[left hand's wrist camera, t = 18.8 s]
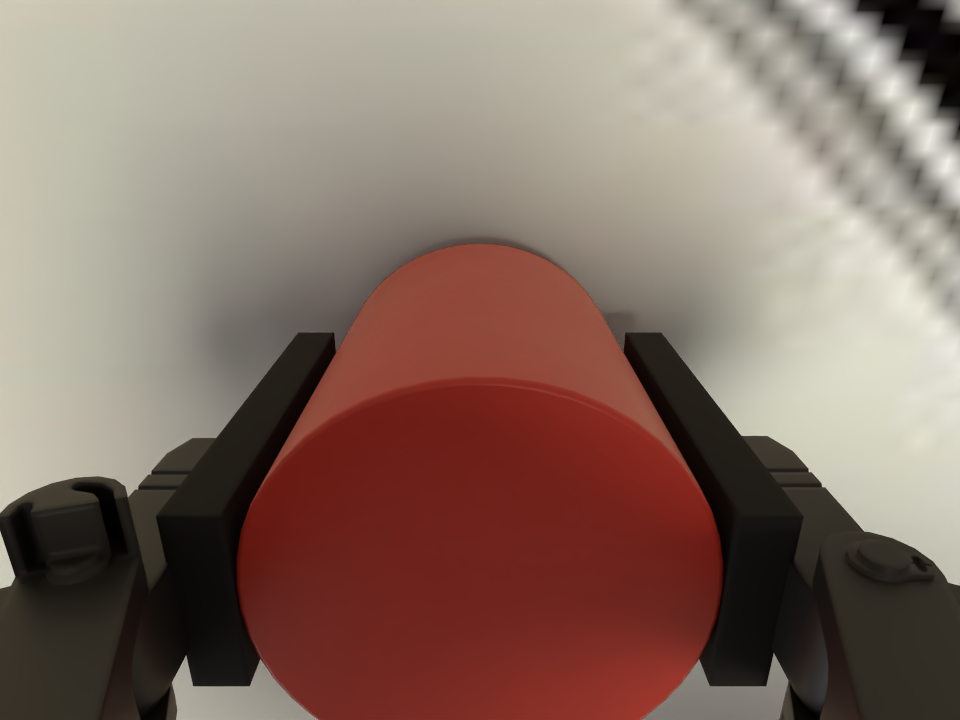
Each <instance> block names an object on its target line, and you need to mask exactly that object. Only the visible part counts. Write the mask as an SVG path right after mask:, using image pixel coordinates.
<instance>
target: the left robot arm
mask: <svg viewBox="0 0 960 720" xmlns="http://www.w3.org/2000/svg"><path fill="white" fill-rule="evenodd" d="M335 354H336V349H335V338H334V333H298V334H297V335H296V336H295V338H294V339H293V340H292V342H291V343H290V344H289V345H288V347H287V348H286V349H285V351H284V352H283V353H282V354H281V356H280V357H279V358H278V360H277V361H276V362H275V363H274V365H273V366H272V367H271V369H270V370H269V371H268V372H267V374H266V375H265V376H264V378H263V379H262V380H261V382H260V383H259V384H258V385H257V387H256V388H255V389H254V391H253V392H252V393H251V394H250V396H249V397H248V398H247V400H246V401H245V402H244V403H243V405H242V406H241V407H240V409H239V410H238V411H237V412H236V414H235V415H234V416H233V418H232V419H231V420H230V421H229V423H228V424H227V425H226V427H225V428H224V429H223V430H222V432H221V433H220V434H219V436H218V437H217V438H192V439H191V440H189V441H187V442H186V443H184V444H182V445H181V446H179V447H177V448H175V449H174V450H172V451H170V452H169V453H167V454H166V455H165V457H164V458H163V459H162V460H161V461H160V462H159V463H158V464H157V466H156V467H155V468H154V469H153V470H152V473H151V475H148V476H147V477H146V478H145V479H144V480H143V481H142V483H141V484H140V485H139V486H138V487H139V488H138V490H135V491H134V492H133V493H132V494H131V495H130V496H129V497H127V492H126V488H125V486H124V485H122V484H121V483H119V482H118V481H117V480H115V479H110V478H104V477H81V478H73V479H69V480H65V481H60V482H56V483H52V484H49V485H47V486H44V487H42V488H39V489H36V490H34V491H31V492H29V493H27V494H25V495H24V496H22V497H20V498H19V499H17V500H15V501H14V502H12V503H11V504H9V505H8V506H7V507H6V508H5V509H4V510H3V511H2V512H1V513H0V531H1V534H2V537H3V540H4V543H5V546H6V549H7V552H8V556H9V559H10V562H11V565H12V568H13V571H14V574H15V579H14V581H13V583H12V585H11V586H9V587H5V588H1V589H0V720H176V715H177V706H176V700H175V694H174V690H173V686H172V681H173V679H174V677H175V675H176V673H177V671H178V669H179V668H180V666H181V664H182V662H183V660H184V658H185V656H186V655H187V660H188V664H189V669H190V673H191V678H192V682H193V686H250V684H251V681H252V679H253V676H254V674H255V671H256V669H257V666H258V663H259V661H260V657H259V655H258V653H257V651H256V649H255V647H254V645H253V643H252V641H251V639H250V637H249V635H248V632H247V629H246V626H245V623H244V620H243V617H242V614H241V610H240V604H239V597H238V591H237V584H236V563H237V551H238V545H239V540H240V534H241V529H242V527H243V524H244V521H245V518H246V515H247V513H248V510H249V507H250V504H251V502H252V501H253V499H254V497H255V495H256V493H257V492H258V490H259V488H260V486H261V484H262V483H263V481H264V479H265V477H266V475H267V474H268V472H269V470H270V468H271V467H272V465H273V463H274V461H275V460H276V458H277V456H278V454H279V453H280V451H281V449H282V447H283V446H284V444H285V442H286V440H287V438H288V437H289V435H290V433H291V431H292V430H293V428H294V426H295V424H296V423H297V421H298V419H299V417H300V416H301V414H302V412H303V410H304V409H305V407H306V405H307V403H308V402H309V400H310V398H311V396H312V395H313V393H314V391H315V389H316V387H317V386H318V384H319V382H320V380H321V379H322V377H323V375H324V373H325V372H326V370H327V368H328V366H329V365H330V363H331V361H332V359H333V358H334V356H335ZM624 354H625V356H626V358H627V360H628V361H629V363H630V365H631V367H632V368H633V370H634V372H635V374H636V375H637V377H638V379H639V381H640V382H641V384H642V386H643V388H644V389H645V391H646V393H647V395H648V396H649V398H650V400H651V402H652V404H653V405H654V407H655V409H656V411H657V412H658V414H659V416H660V418H661V419H662V421H663V423H664V425H665V426H666V428H667V430H668V432H669V433H670V435H671V437H672V439H673V440H674V442H675V444H676V446H677V447H678V449H679V451H680V453H681V454H682V456H683V458H684V460H685V462H686V463H687V465H688V467H689V469H690V470H691V472H692V474H693V476H694V477H695V479H696V481H697V483H698V484H699V486H700V488H701V490H702V492H703V494H704V496H705V498H706V500H707V502H708V504H709V506H710V508H711V510H712V513H713V516H714V519H715V523H716V526H717V529H718V532H719V535H720V541H721V549H722V556H723V590H722V596H721V601H720V606H719V611H718V616H717V619H716V622H715V625H714V627H713V630H712V633H711V636H710V638H709V641H708V643H707V644H706V646H705V648H704V650H703V652H702V654H701V656H700V657H699V659H700V662H701V665H702V667H703V670H704V672H705V675H706V677H707V680H708V682H709V685H710V686H766V685H767V680H768V676H769V671H770V667H771V662H772V658H773V653H774V654H775V656H776V657H777V659H778V661H779V663H780V665H781V667H782V669H783V671H784V673H785V674H786V676H787V678H788V680H789V682H788V686H787V690H786V694H785V698H784V703H783V707H782V711H781V715H780V719H779V720H960V586H958V585H954V584H951V583H948V582H947V580H946V578H945V576H944V575H943V573H942V572H941V571H940V570H939V568H938V567H937V566H936V565H935V563H934V562H933V561H932V560H930V559H929V558H927V557H926V556H924V555H923V554H922V553H920V552H919V551H917V550H916V549H915V548H912V547H910V546H908V545H906V544H904V543H902V542H899V541H897V540H895V539H893V538H889V537H886V536H882V535H878V534H874V533H870V532H864V531H863V530H862V529H861V527H860V526H859V525H858V524H857V523H856V522H855V521H854V520H853V518H852V517H851V516H850V515H849V514H848V513H847V512H846V511H845V509H844V508H843V507H842V506H841V505H840V504H839V503H838V502H837V500H836V499H835V498H834V497H833V496H832V495H831V494H830V493H829V491H828V490H827V489H826V488H825V487H822V484H821V482H820V481H819V480H818V479H817V478H816V477H815V476H814V475H813V473H812V472H809V471H808V468H807V467H806V466H805V464H804V463H803V462H802V461H801V460H800V459H799V458H798V457H797V455H796V454H795V453H794V452H793V451H792V450H790V449H788V448H786V447H785V446H783V445H781V444H780V443H778V442H776V441H775V440H773V439H771V438H770V437H768V436H741V435H740V434H739V432H738V431H737V430H736V428H735V427H734V426H733V425H732V423H731V422H730V421H729V419H728V418H727V417H726V416H725V414H724V413H723V412H722V410H721V409H720V408H719V407H718V405H717V404H716V403H715V401H714V400H713V399H712V398H711V396H710V395H709V394H708V392H707V391H706V390H705V389H704V387H703V386H702V385H701V383H700V382H699V381H698V380H697V378H696V377H695V376H694V374H693V373H692V372H691V371H690V369H689V368H688V367H687V365H686V364H685V363H684V361H683V360H682V359H681V358H680V356H679V355H678V354H677V352H676V351H675V350H674V349H673V347H672V346H671V345H670V343H669V342H668V341H667V340H666V338H665V337H664V336H663V334H662V333H625V344H624Z"/></svg>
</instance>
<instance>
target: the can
mask: <svg viewBox="0 0 960 720" xmlns="http://www.w3.org/2000/svg"><path fill="white" fill-rule="evenodd" d="M236 584H237V591H238V597H239V604H240V610H241V614H242V617H243V620H244V623H245V626H246V629H247V632H248V635H249V637H250V639H251V641H252V643H253V645H254V647H255V649H256V651H257V653H258V655H259V657H260V659H261V660H262V661H263V663H264V664H265V666H266V667H267V669H268V670H269V672H270V673H271V675H272V676H273V678H274V679H275V680H276V681H277V682H278V683H279V684H280V685H281V686H282V688H283V689H284V690H285V691H286V692H287V693H288V694H289V695H290V696H291V697H292V698H293V699H294V700H295V701H296V702H297V703H298V704H300V705H301V706H302V707H303V708H304V709H305V710H307V711H308V712H309V713H310V714H311V715H313V716H314V717H316V718H317V719H319V720H641V719H643V718H644V717H645V716H647V715H648V714H649V713H650V712H652V711H653V710H654V709H655V708H656V707H658V706H659V705H660V704H661V703H663V702H664V701H665V700H666V699H667V698H668V697H669V696H670V695H671V693H672V692H673V691H674V690H675V689H676V688H677V687H678V686H679V685H680V684H681V683H682V682H683V680H684V679H685V678H686V676H687V675H688V674H689V672H690V671H691V670H692V668H693V667H694V665H695V664H696V663H697V661H698V659H699V657H700V656H701V654H702V652H703V650H704V648H705V646H706V644H707V643H708V641H709V638H710V636H711V633H712V630H713V627H714V625H715V622H716V619H717V616H718V611H719V606H720V601H721V596H722V590H723V556H722V549H721V541H720V535H719V532H718V529H717V526H716V523H715V519H714V516H713V513H712V510H711V508H710V506H709V504H708V502H707V500H706V498H705V496H704V494H703V492H702V490H701V488H700V486H699V484H698V483H697V481H696V479H695V477H694V476H693V474H692V472H691V470H690V469H689V467H688V465H687V463H686V462H685V460H684V458H683V456H682V454H681V453H680V451H679V449H678V447H677V446H676V444H675V442H674V440H673V439H672V437H671V435H670V433H669V432H668V430H667V428H666V426H665V425H664V423H663V421H662V419H661V418H660V416H659V414H658V412H657V411H656V409H655V407H654V405H653V404H652V402H651V400H650V398H649V396H648V395H647V393H646V391H645V389H644V388H643V386H642V384H641V382H640V381H639V379H638V377H637V375H636V374H635V372H634V370H633V368H632V367H631V365H630V363H629V361H628V360H627V358H626V356H625V354H624V353H623V351H622V349H621V347H620V346H619V344H618V342H617V340H616V338H615V337H614V335H613V333H612V331H611V330H610V328H609V326H608V324H607V323H606V321H605V319H604V317H603V316H602V314H601V312H600V310H599V309H598V307H597V306H596V304H595V303H594V301H593V300H592V298H591V297H590V296H589V294H588V293H587V292H586V291H585V290H584V289H583V288H582V287H581V285H580V284H579V283H578V282H577V281H576V280H575V279H573V278H572V277H571V276H570V275H568V274H567V273H566V272H565V271H563V270H562V269H561V268H559V267H557V266H556V265H554V264H552V263H551V262H549V261H548V260H546V259H544V258H541V257H539V256H537V255H534V254H532V253H530V252H527V251H523V250H520V249H516V248H513V247H508V246H501V245H494V244H466V245H458V246H452V247H448V248H444V249H440V250H436V251H433V252H430V253H428V254H425V255H423V256H420V257H418V258H416V259H414V260H412V261H411V262H409V263H407V264H405V265H404V266H402V267H400V268H399V269H398V270H396V271H395V272H394V273H392V274H391V275H390V276H388V277H387V278H386V279H385V280H384V281H383V282H382V283H381V284H380V285H379V286H378V287H377V288H376V289H375V290H374V291H373V293H372V294H371V295H370V297H369V298H368V299H367V301H366V302H365V303H364V305H363V307H362V308H361V310H360V312H359V314H358V315H357V317H356V319H355V321H354V322H353V324H352V326H351V328H350V329H349V331H348V333H347V335H346V336H345V338H344V340H343V342H342V344H341V345H340V347H339V349H338V351H337V352H336V354H335V356H334V358H333V359H332V361H331V363H330V365H329V366H328V368H327V370H326V372H325V373H324V375H323V377H322V379H321V380H320V382H319V384H318V386H317V387H316V389H315V391H314V393H313V395H312V396H311V398H310V400H309V402H308V403H307V405H306V407H305V409H304V410H303V412H302V414H301V416H300V417H299V419H298V421H297V423H296V424H295V426H294V428H293V430H292V431H291V433H290V435H289V437H288V438H287V440H286V442H285V444H284V446H283V447H282V449H281V451H280V453H279V454H278V456H277V458H276V460H275V461H274V463H273V465H272V467H271V468H270V470H269V472H268V474H267V475H266V477H265V479H264V481H263V483H262V484H261V486H260V488H259V490H258V492H257V493H256V495H255V497H254V499H253V501H252V502H251V504H250V507H249V510H248V513H247V515H246V518H245V521H244V524H243V527H242V529H241V534H240V540H239V545H238V551H237V563H236Z"/></svg>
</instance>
